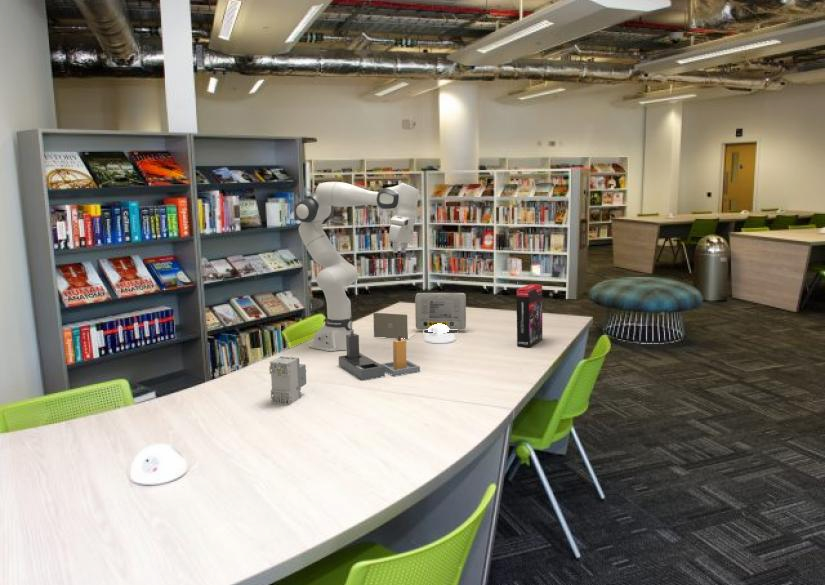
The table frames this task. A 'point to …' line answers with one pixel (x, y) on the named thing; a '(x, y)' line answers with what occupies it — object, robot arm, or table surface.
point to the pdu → (362, 367)
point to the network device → (440, 310)
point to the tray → (410, 368)
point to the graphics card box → (529, 315)
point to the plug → (399, 353)
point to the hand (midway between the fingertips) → (398, 252)
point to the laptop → (390, 325)
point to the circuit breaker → (286, 379)
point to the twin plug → (352, 345)
